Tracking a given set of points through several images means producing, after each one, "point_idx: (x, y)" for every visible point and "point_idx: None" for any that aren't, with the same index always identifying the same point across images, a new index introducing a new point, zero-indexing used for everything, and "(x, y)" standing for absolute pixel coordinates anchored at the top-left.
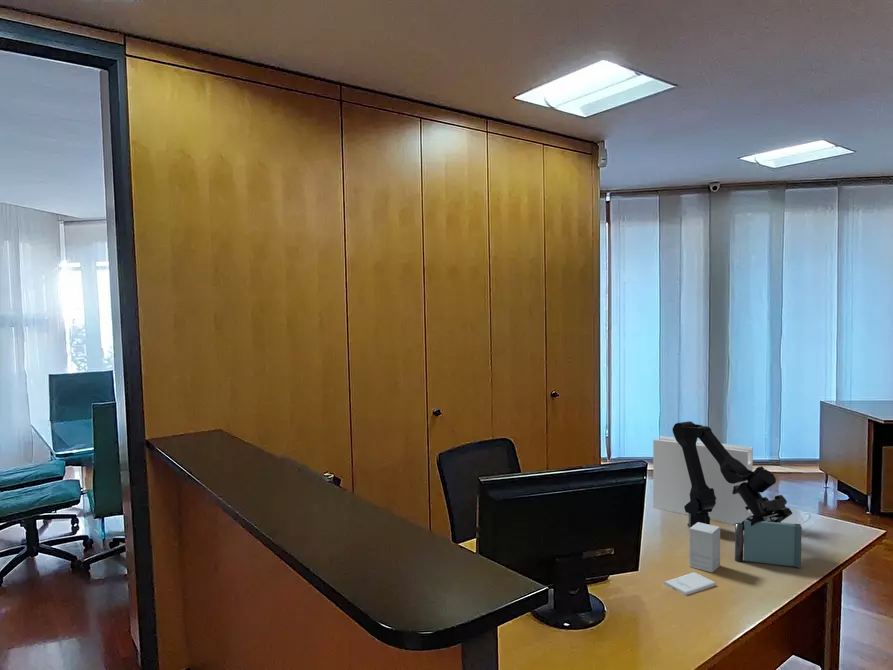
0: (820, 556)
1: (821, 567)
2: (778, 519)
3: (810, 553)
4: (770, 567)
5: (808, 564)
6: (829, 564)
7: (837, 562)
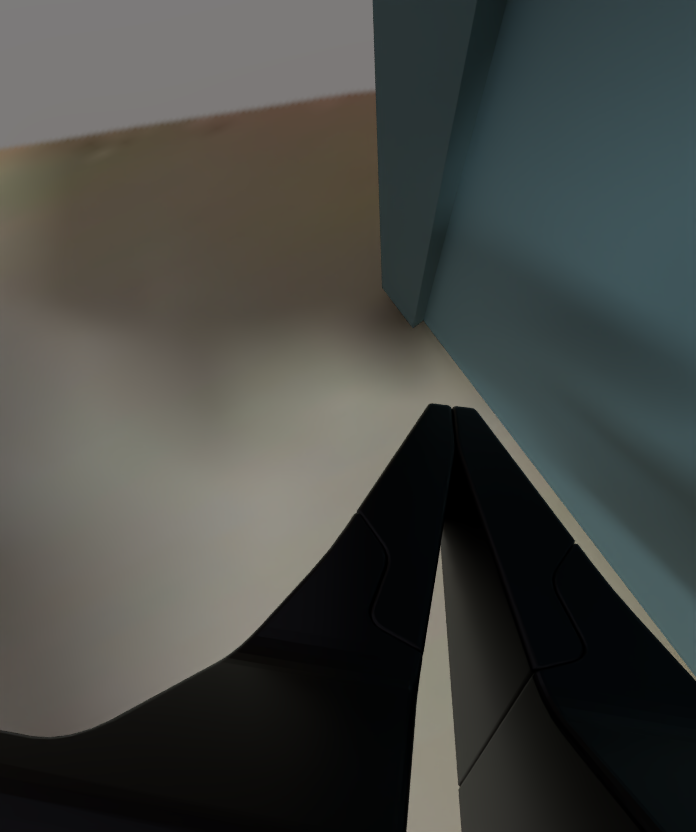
0: (9, 296)
1: (248, 166)
2: (295, 824)
3: (8, 385)
4: None
5: (275, 266)
6: (127, 161)
7: (31, 145)
